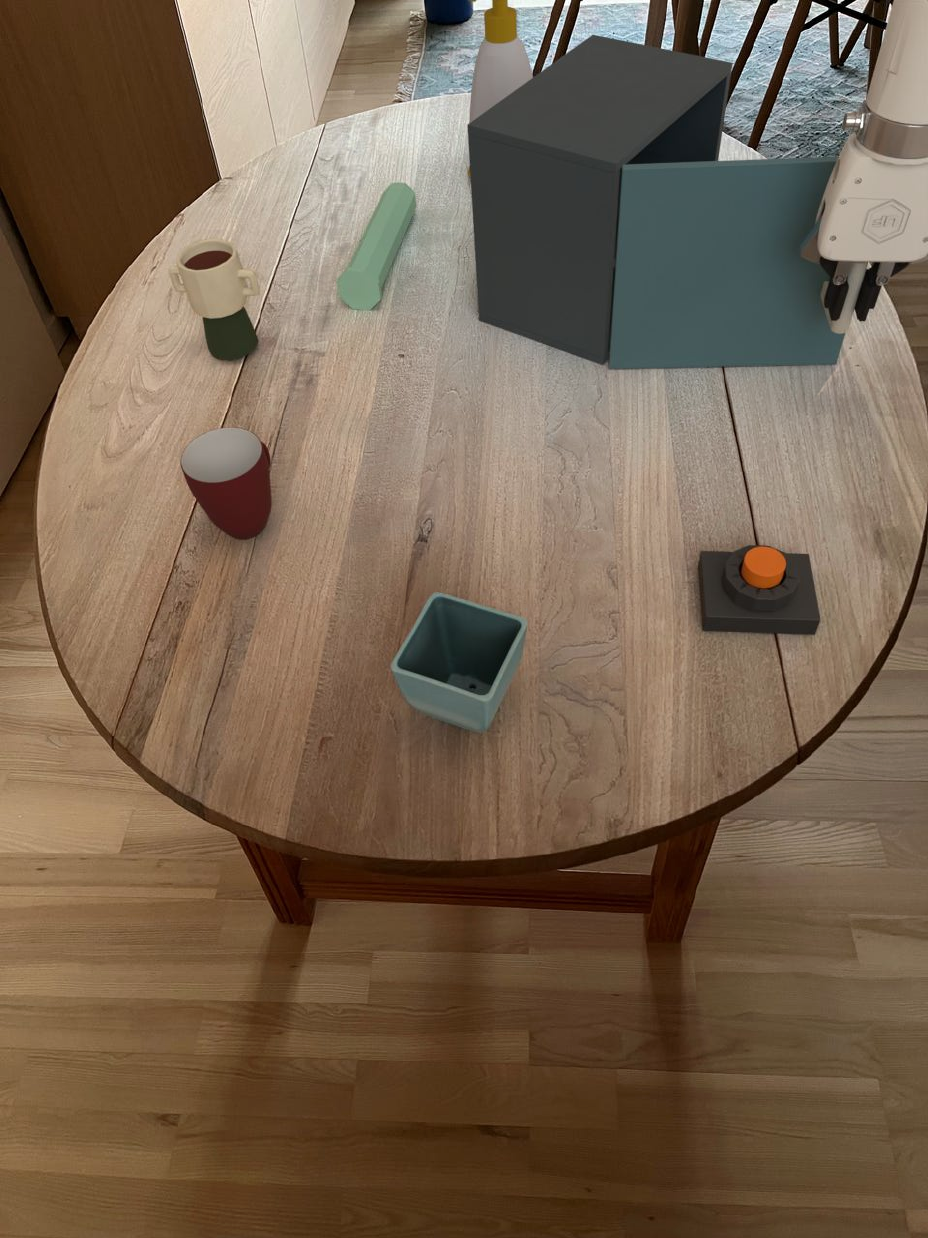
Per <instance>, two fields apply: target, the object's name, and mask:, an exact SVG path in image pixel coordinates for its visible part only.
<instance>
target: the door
mask: <svg viewBox="0 0 928 1238" xmlns="http://www.w3.org/2000/svg"><path fill="white" fill-rule="evenodd" d="M838 157H839V155H838V156H814V157H813V156H812V157H811V156H810V157H788V158H759V159H736V160H734V159H733V160H718V161H705V162H679V163H653V164H627V165H622V176H621V191H620V206H619V221H618V235H617V250H616V265H615V280H614V294H613V309H612V324H611V338H610V353H609V360H608V369H609V370H619V369H622V370H623V369H625V370H626V369H627V370H628V369H668V368H669V369H673V368H674V369H675V368H716V367H717V368H719V367H720V368H721V367H722V368H723V367H762V366H763V367H766V366H768V367H769V366H810V365H811V366H813V365H814V366H815V365H817V366H818V365H837V363H838V361H839V357H840V353H841V351H842V350H841V349H842V346H843V343H844V339H845V336H846V333H848V331H849V329H850V325H851V322H852V320H853V319H852V318H853V316H854V312H855V306H856V302H857V299H858V296H859V292H860V289H861V285H862V282H863V279H864V275H865V272H866V269H868V265H869V262H851V265H850V269H849V272H848V279H847V281H848V285H849V290H848V293H847V296H846V299H845V303H844V306H843V309H842V312H841V315H840V318H839V319H837V321H831V318H830V314H829V310H828V308H825V307H824V297H825V294H826V290H827V287H828V283H829V280H830V276H829V275H828V274H827V273H826V271H825V270H824V269H823V268H822V267H821V265H820V264H818V263H814V262H811V261H809V260H807V259H805V258H803V257H802V256H801V253H800V245H801V244H802V242H803V241H804V239H805V238H806V237H807V235H808V234H809V233H810V231H811V230H812V228H813V227H814V226H815V222H816V218H817V214H818V210H819V207H820V204H821V201H822V198H823V195H824V192H825V189H826V187H827V184H828V181H829V179H830V176H831V174H832V171H833V169H834V166H835V164H836V162H837V160H838Z"/></svg>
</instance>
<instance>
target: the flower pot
mask: <svg viewBox="0 0 928 1238" xmlns="http://www.w3.org/2000/svg"><path fill="white" fill-rule="evenodd" d="M528 623H529V621H528V619H527V618H526V617H522V616H521V615H517V614H513V613H510V612H506V611H503V610H500V609H496V608H493V607H490V606H486V605H483V604H480V603H478V602H477V603H476V602H473V601H469V600H467V599H464V598H461V597H457V596H453V595H451V594H448V593H445V592H439V591H434V592H433V593H431V595H430V596H429V597H428V599H427V601H426V603H425V604H424V606H423V607H422V610H421V612H420V614H419V615H418V617H417V619H416V620H415V622H414V623H413V626H412V627H411V630H410V631H409V633H408V634H407V636H406V638H405V639H404V641H403V643H402V644H401V646H400V648H398V651H397V653H396V655H395V656H394V658H393V659H392V661H391V663H390V666H389V667H390V671H391V672H392V675H393V677H394V680H395V682H396V685H397V687H398V689H399V691H400V693H401V695H402V697H403V699H404V700H405V701H406V703H408V705H410V707H412V708H413V709H415V710H416V711H417V712H419V713H422V714H423V715H425V716H427V717H429V718H432V719H434V720H438V721H440V722H443V723H445V724H446V723H447V724H450V725H453V726H456V727H458V728H461V729H463V730H466V731H469V732H472V733H476V734H483V733H485V732H486V731H487V730H489V728H490V726H491V724H492V722H493V721H494V718H495V716H496V713H497V711H498V709H499V707H500V705H501V703H502V701H503V698H504V697H505V695H506V692H507V691H508V688H509V687H510V684H511V682H512V680H513V678H514V676H515V675H516V672H517V670H518V668H519V666H520V663H521V660H522V658H523V654H524V653H523V652H524V647H525V641H526V637H527V632H528V631H527V630H528ZM471 687H474V689H471Z"/></svg>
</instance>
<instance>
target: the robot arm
mask: <svg viewBox="0 0 928 1238" xmlns="http://www.w3.org/2000/svg"><path fill="white" fill-rule="evenodd" d="M877 55H878V56H877V59H876V63H875V66H874V70H873V73H872V77H871V80H870V85H869V89H868V91H867V95H866V99H863V101H862V105H861V106H860V107H859V109H858V110H855V111H853V112H845V113H844V116H843V118H842V123H841V126H842V129H841V130H842V131H850V132H851V134H850V135H848V137H847V139H846V141H845V143H844V145H843V147H842V149H841V151H840V153H839V155H838V156H839V157H838V160H837V162H836V164H835V166H834V169H833V171H832V174H831V176H830V179H829V181H828V184H827V187H826V189H825V192H824V195H823V198H822V201H821V204H820V207H819V210H818V214H817V218H816V222H815V226H814V227H813V228H812V230H811V231H810V233H809V234H808V235H807V237H806V238H805V239H804V241H803V242H802V244H801V245H800V253H801V256H802V257H803V258H805V259H807V260H809V261H811V262H814V263H818V264H820V265H821V267H822V268H823V269H824V270H825V271H826V273H827V274H828V275H829V276H830V280H829V283H828V287H827V290H826V294H825V297H824V307H825V308H828V310H829V314H830V318H831V321H837V319H839V318H840V315H841V312H842V309H843V306H844V303H845V299H846V296H847V293H848V290H849V285H848V281H847V279H848V272H849V269H850V265H851V262H868V263H871V267H869V268H867V269H866V272H865V275H864V279H863V282H862V285H861V289H860V292H859V296H858V299H857V302H856V306H855V309H854V312H855V317H856V320H858V321H859V322H866V320H867V318H868V315H869V311H870V310H874V309H875V307H876V304H877V302H878V299H879V295H880V292H881V290H882V287H883V286H886V285H887V284H888V283H889V282H890V279H891V278H893V277H894V276H896V274H897V275H898V273H900V272H901V271H903V270H905V269H906V268H907V267H908V266H910V265H911V266H913V265H916V264H919V263H923V262H926V261H928V0H893V2H892V5H891V9H890V13H889V16H888V19H887V23H886V27H885V31H884V34H883V38H882V41H881V46H880V48H879V52H878V54H877Z"/></svg>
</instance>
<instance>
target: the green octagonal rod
mask: <svg viewBox="0 0 928 1238" xmlns="http://www.w3.org/2000/svg"><path fill="white" fill-rule="evenodd" d="M416 208H417V199H416V192H415V190H414V189H412V188H411V187H410V186H409V185H408V184H407V183H406V182H391V183H390V184H389V186H388V187H386V189H385V190H384V191H383V193H382V194H381V196H380V198H379V201H378V203H377V205H376V207H375V209H374V210H373V213H372V215H371V218H370V219H369V220H368V224H367V226H366V228H365V229H364V232H363V234H362V236H361V238H360V240H359V242H358V244H357V246H356V249H355V251H354V253H353V255H352V257H351V259H350V261H349V263H348V265H347V267H346V269H345V270H344V271H343V272H342V273H341V275H339V276H338V277H337V278H336V281H335V282H336V288H337V292H338V298H339V299H340V300H341V301H343V302H344V304H346V305H348V307H350V308H351V309H352V310H359V311H371V310H372V309H373V308H374V307H375V306H376V305H377V304H378V303H379V302H380V301H381V300H382V297H383V294H382V293H383V292H382V288H383V285H384V283H385V281H386V279H387V276H388V274H389V272H390V269H391V266H393V265H392V264H393V262H394V260H395V258H396V255H397V253H398V250H399V248H400V246H401V243H402V241H403V239H404V236H405V234H406V232H407V230H408V228H409V224H410V223H411V220H412V218H413V215H414V213H415V211H416Z"/></svg>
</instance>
